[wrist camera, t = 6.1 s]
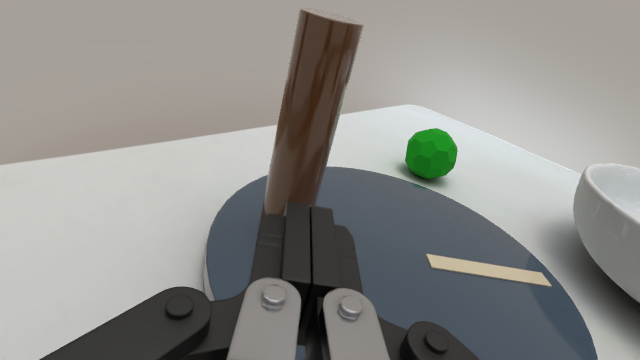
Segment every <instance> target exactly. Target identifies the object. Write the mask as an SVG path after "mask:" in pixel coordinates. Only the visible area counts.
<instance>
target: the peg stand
mask: <svg viewBox="0 0 640 360" xmlns="http://www.w3.org/2000/svg"><path fill="white" fill-rule="evenodd" d="M363 26H364V25H363V24H362V23H361V22H359V21H356V20H354V19H350V18H347V17H344V16H340V15H337V14H333V13H330V12H325V11H321V10H316V9H311V8H300V10H299V15H298V20H297V26H296V31H295V36H294V42H293V47H292V52H291V57H290V63H289V68H288V73H287V79H286V84H285V89H284V95H283V100H282V105H281V110H280V116H279V121H278V126H277V131H276V137H275V142H274V147H273V153H272V158H271V163H270V169H269V174H268V175H267V176H264V177H261V178H259V179H257V180H255V181H253V182H251V183H249V184H247V185H246V186H244V187H243V188H241V189H240V190H238V191H237V192H236V193H235V194H234V195H233V196H232V197H230V198H229V199H228V200H227V201H226V203H225V204H224V205H223V207H222V208H221V209H220V210H219V212H218V213H217V215H216V217H215V219H214V221H213V223H212V225H211V228H210V232H209V236H208V240H207V244H206V252H205V261H204V282H203V283H204V290H205V295H206V296H207V297H208V299H209V300H210V301H216V300H223V299H228V298H231V297H234V296H236V295H238V294H239V293H241V292H242V291H243V290H245V288H246V287H247V286H248V284H249V280H250V275H251V269H252V263H253V258H254V253H255V247H256V242H257V237H258V232H259V227H260V222H261V221H262V220H263V219H264V218H265V217H266V216H267V214H268V213H270V214H276V215H282V216H283V215H284V211H285V206H286V203H287V201H291V202H296V203H302V204H308V205H309V206H310V205H314V206H319V207H325V208H331V209H332V210H333V217H334V224H335V225H341V226H346V228H347V229H348V231H349V232H350V233H351V235H352V236H353V239H354V244H355V251H356V255H357V261H358V266H359V272H360V278H361V283H362V289H363V294H364V296H365V297H367V298H368V299H369V300H370V302H371V303H372V304H373V306H374V308H375V310H376V314H377V315H378V316H379V317H381V318H382V319H384V320H386V321H388V322H390V323H392V324H395V325H397V326H399V327H402V328H404V329H407V330H408V329H409V328H410V326H411V325H412V324H414V323H415V322H419V321H428V322H432V323H435V324H438V325H440V326H442V327H443V328H445V329H446V330H447V331H449V332H450V333H451V334H452V335H453V336H454V337H456V338H457V339H458V340H459V341H460V342H461V343H462V344H463V345H465V346H466V347H467V348H468V349H469V350H470V351H471V352H472V353H474V354H475V355H476V356H477V357H478V358H479V359H480V360H598V358H597V354H596V351H595V347H594V344H593V340H592V337H591V335H590V333H589V330H588V328H587V326H586V324H585V322H584V319H583V317H582V316H581V314H580V312H579V311H578V309H577V307H576V306H575V304H574V302H573V301H572V299H571V298H570V296H569V295H568V294H567V292H566V291H565V290H564V288H563V287H562V286H561V284H560V283H559V282H558V281H557V280H556V278H555V277H554V276H553V275H552V274H551V273H550V272H549V270H548V269H547V268H546V267H545V266H544V265H543V264H542V263H541V262H540V261H539V260H538V259H537V258H536V257H535V256H534V255H533V254H532V253H531V252H529V251H528V250H527V249H526V248H525V247H524V246H522V245H521V244H520V243H519V242H518V241H516V240H515V239H514V238H513V237H511V236H510V235H509V234H507V233H506V232H505V231H503V230H502V229H501V228H499V227H498V226H496V225H495V224H493V223H492V222H490V221H489V220H487V219H486V218H484V217H483V216H481V215H479V214H478V213H476V212H474V211H473V210H471V209H469V208H468V207H466V206H464V205H462V204H460V203H458V202H456V201H454V200H452V199H450V198H448V197H446V196H444V195H441V194H439V193H437V192H435V191H432V190H430V189H427V188H425V187H422V186H420V185H417V184H414V183H411V182H408V181H405V180H402V179H399V178H395V177H392V176H388V175H385V174H380V173H376V172H371V171H365V170H359V169H353V168H343V167H326V165H327V161H328V157H329V154H330V150H331V146H332V142H333V139H334V135H335V131H336V128H337V124H338V120H339V116H340V113H341V108H342V105H343V101H344V98H345V94H346V90H347V86H348V83H349V79H350V75H351V72H352V68H353V64H354V60H355V57H356V53H357V49H358V45H359V42H360V38H361V34H362V31H363ZM304 358H305V346H300V345H297V346H296V355H295V360H304Z"/></svg>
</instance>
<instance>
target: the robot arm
mask: <svg viewBox="0 0 640 360" xmlns="http://www.w3.org/2000/svg"><path fill="white" fill-rule="evenodd" d="M297 345H300V346H305V358H304V360H480V359H479V358H478V357H477V356H476V355H475V354H474V353H472V352H471V351H470V350H469V349H468V348H467V347H466V346H465V345H463V344H462V343H461V342H460V341H459V340H458V339H457V338H456V337H454V336H453V335H452V334H451V333H450V332H449V331H447V330H446V329H445V328H443V327H442V326H440V325H438V324H435V323H432V322H428V321H419V322H415V323H414V324H412V325H411V326H410V328H409V329H408V330H407V329H404V328H402V327H399V326H397V325H395V324H392V323H390V322H388V321H386V320H384V319H382V318H381V317H379V316H378V315H377V314H376V310H375V308H374V306H373V304H372V303H371V302H370V300H369V299H368V298H367V297H365V296H364V294H363V289H362V283H361V278H360V272H359V266H358V261H357V255H356V251H355V244H354V239H353V236H352V235H351V233H350V232H349V231H348V229H347V228H346V226H341V225H335V224H334V217H333V210H332V209H331V208H325V207H319V206H314V205H310V206H309V205H308V204H302V203H296V202H291V201H287V203H286V206H285V211H284V215H283V216H282V215H276V214H270V213H268V214H267V216H266V217H265V218H264V219H263V220H262V221H261V222H260V227H259V232H258V237H257V242H256V247H255V253H254V258H253V263H252V269H251V275H250V280H249V284H248V286H247V287H246V288H245V290H243V291H242V292H241V293H239V294H238V295H236V296H234V297H231V298H228V299H223V300H216V301H210V300H209V299H208V297H207V296H206V295H205V294H204V293H202V292H201V291H199V290H197V289H194V288H190V287H174V288H169V289H166V290H164V291H162V292H160V293H158V294H156V295H154V296H153V297H151V298H149V299H147V300H145V301H144V302H142V303H140V304H138V305H136V306H135V307H133V308H131V309H129V310H127V311H126V312H124V313H122V314H120V315H119V316H117V317H115V318H113V319H111V320H110V321H108V322H106V323H104V324H102V325H101V326H99V327H97V328H95V329H93V330H92V331H90V332H88V333H86V334H84V335H83V336H81V337H79V338H77V339H76V340H74V341H72V342H70V343H68V344H67V345H65V346H63V347H61V348H59V349H58V350H56V351H54V352H52V353H50V354H49V355H47V356H45V357H43V358H42V359H40V360H295V355H296V346H297Z"/></svg>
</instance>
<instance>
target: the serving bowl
mask: <svg viewBox="0 0 640 360" xmlns="http://www.w3.org/2000/svg"><path fill="white" fill-rule="evenodd" d="M573 212H574V220H575V224H576V227H577V231H578V234H579V236H580V238H581V240H582V242H583V244H584V246H585V247H586V249H587V251H588V252H589V254H590V255H591V257H592V258H593V259H594V260H595V262H596V263H597V264H598V265H599V267H600V268H601V269H602V270H603V271H604V272H605V273H606V274H607V275H608V276H609V277H610V278H611V279H612V280H613V281H614V282H615V283H616V284H617V285H618V286H620V287H621V288H622V289H623V290H624V291H625V292H626V293H628V294H629V295H630V296H631V297H632V298H634V299H635V300H636V301H637V302H639V303H640V168H636V167H631V166H626V165H619V164H606V163H601V164H594V165H590V166H588V167H587V168H586V169H585V170H584V172H583V173H582V176H581V179H580V181H579V184H578V186H577V189H576V193H575V197H574V205H573Z"/></svg>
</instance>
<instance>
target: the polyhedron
mask: <svg viewBox="0 0 640 360" xmlns="http://www.w3.org/2000/svg"><path fill="white" fill-rule="evenodd" d="M456 156H457V146H456V145H455V143H454V141H453V140H452V138H451V137H450V136H449V134H448V133H447V132H444V131H442V130H439V129H437V128H436V129H429V130H424V131H420V132H417V133H415V134H414V135H413V136H412V138H411V139H410V140H409V141H408V146H407V152H406V159H405V161H406V163H407V165H408V167H409V169H410V170H411V171H412V172H413V173H414V174H415V175H417V176H420V177H422V178H424V179H429V178H435V177H440V176H444V175H446V174H448V173H449V172H450V171H451V170H452V169H453V168H454V165H455V162H456Z"/></svg>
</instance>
